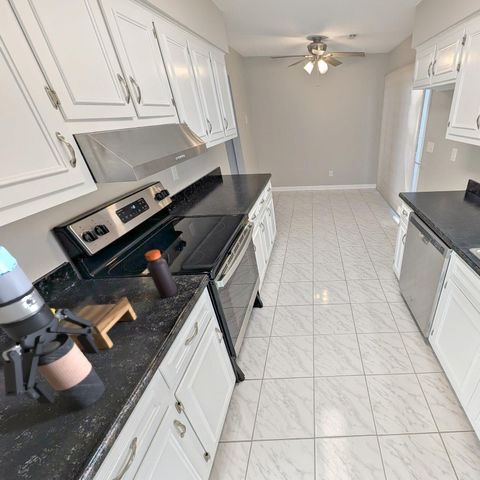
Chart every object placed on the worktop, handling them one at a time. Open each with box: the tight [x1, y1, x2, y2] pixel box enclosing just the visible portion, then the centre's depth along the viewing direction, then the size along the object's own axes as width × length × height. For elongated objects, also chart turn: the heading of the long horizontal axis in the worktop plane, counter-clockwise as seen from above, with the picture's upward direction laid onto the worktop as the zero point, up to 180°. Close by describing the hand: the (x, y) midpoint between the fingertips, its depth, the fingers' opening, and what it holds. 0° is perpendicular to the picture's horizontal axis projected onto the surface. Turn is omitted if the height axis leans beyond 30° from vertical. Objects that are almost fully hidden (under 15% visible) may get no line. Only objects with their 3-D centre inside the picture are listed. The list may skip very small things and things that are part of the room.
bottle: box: [144, 249, 178, 299], centre depth 104 cm, size 7×7×20 cm
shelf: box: [58, 296, 137, 351], centre depth 88 cm, size 16×14×10 cm
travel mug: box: [31, 333, 106, 411], centre depth 65 cm, size 8×8×20 cm
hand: (73, 375), depth 65 cm, fingers open, 13 cm apart
